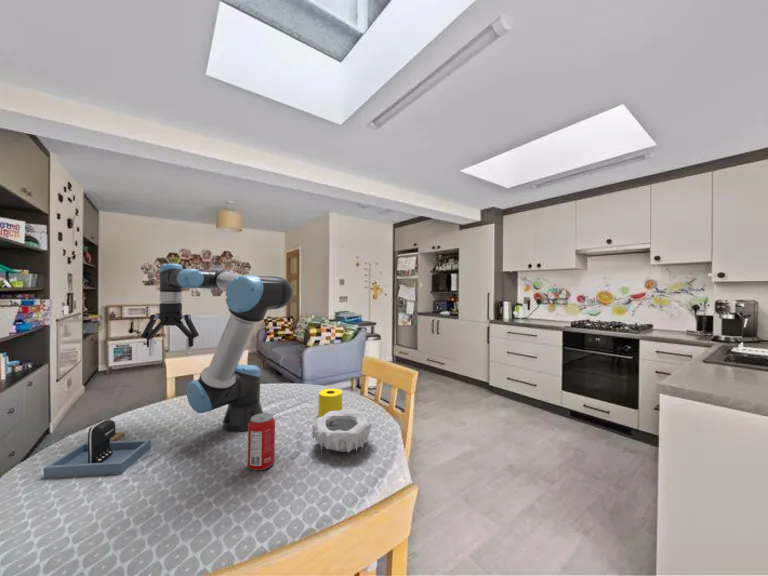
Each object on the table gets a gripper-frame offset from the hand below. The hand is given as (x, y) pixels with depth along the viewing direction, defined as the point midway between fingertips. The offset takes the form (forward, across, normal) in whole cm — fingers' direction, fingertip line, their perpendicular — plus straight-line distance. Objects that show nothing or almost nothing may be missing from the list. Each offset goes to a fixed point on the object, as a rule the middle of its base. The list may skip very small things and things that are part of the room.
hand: (170, 355), depth 126 cm
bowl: (+27, -69, +27) cm, 79 cm away
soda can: (+27, -44, +36) cm, 63 cm away
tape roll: (+27, -64, -1) cm, 69 cm away
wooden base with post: (+27, +13, +16) cm, 34 cm away
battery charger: (+26, +5, +29) cm, 39 cm away
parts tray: (+27, +5, +29) cm, 40 cm away
